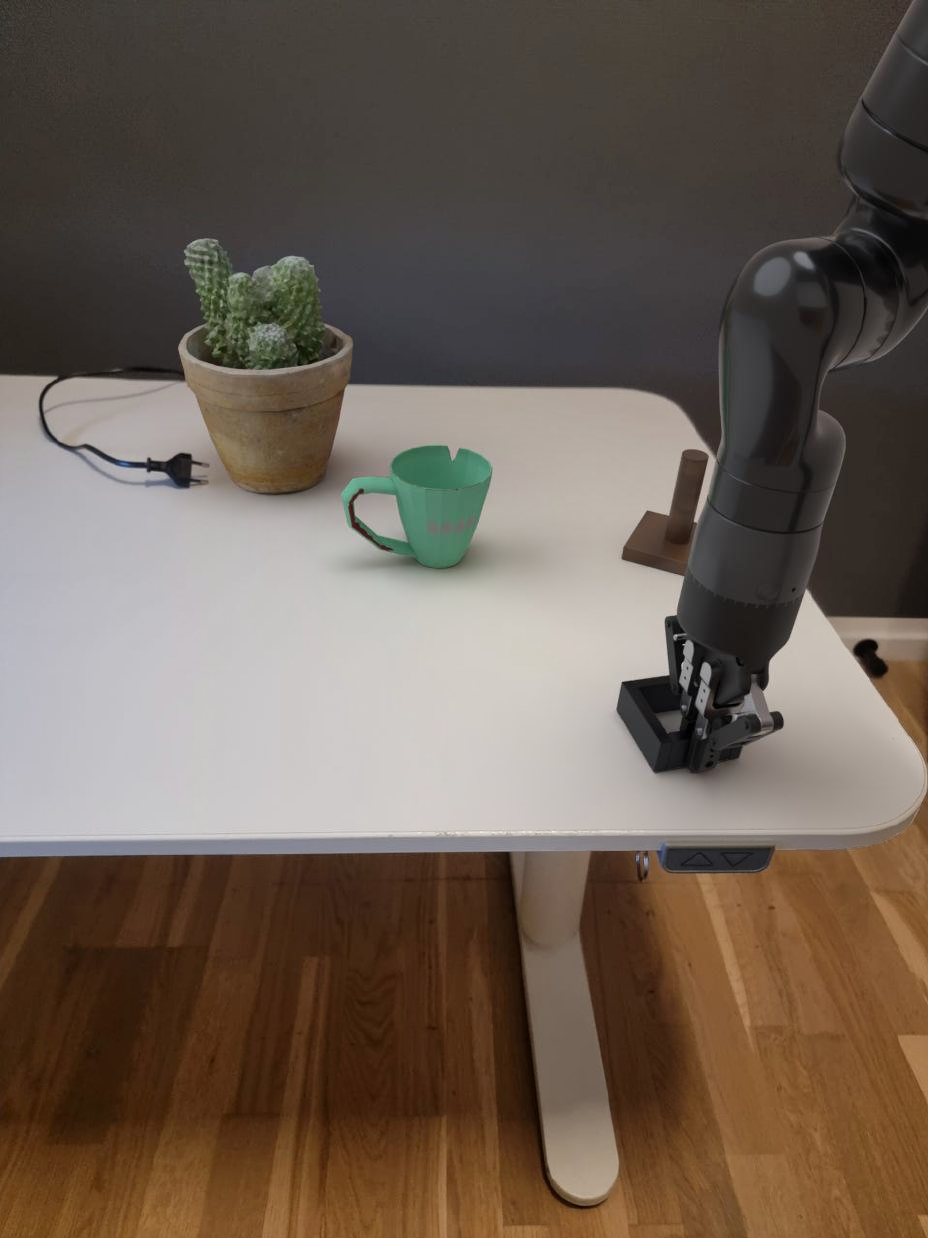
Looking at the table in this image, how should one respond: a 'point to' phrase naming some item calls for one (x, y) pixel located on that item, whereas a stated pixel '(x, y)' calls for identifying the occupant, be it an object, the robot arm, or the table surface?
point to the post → (671, 521)
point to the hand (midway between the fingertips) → (693, 760)
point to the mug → (428, 502)
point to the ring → (657, 723)
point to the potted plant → (265, 369)
